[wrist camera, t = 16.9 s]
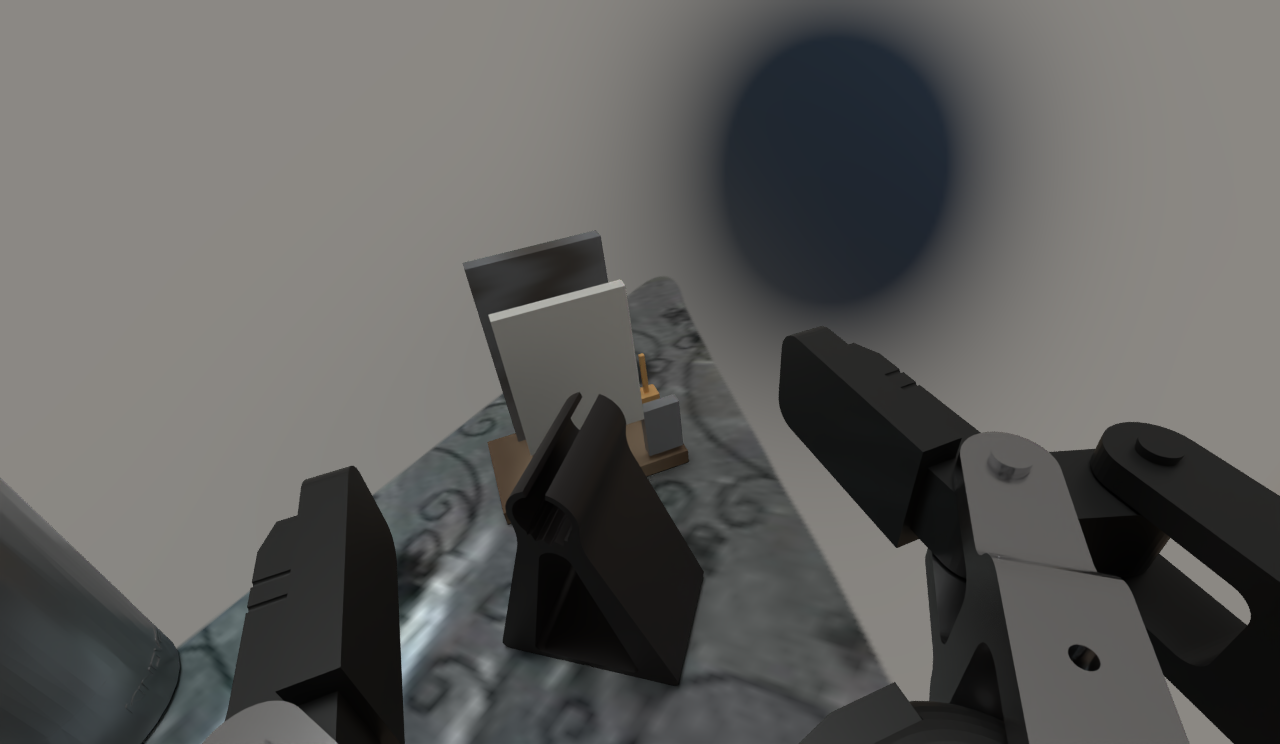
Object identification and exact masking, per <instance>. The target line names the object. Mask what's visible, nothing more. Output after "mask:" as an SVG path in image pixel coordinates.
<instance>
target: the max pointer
mask: <svg viewBox="0 0 1280 744" xmlns="http://www.w3.org/2000/svg"><path fill="white" fill-rule="evenodd" d="M639 363H640V370H641V377H642V384H643V387H642V388H640V392H641V399H642V404H644V403H647V402H650V401H653V400H656V399H659V398H660V396H659V393H658V391H657V390H656V388H655V387H654V385H653V384H651V385H648V380H647V372H646V365H645V357H644V354H643V353H642V354H639Z"/></svg>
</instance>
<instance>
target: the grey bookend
mask: <svg viewBox="0 0 1280 744" xmlns="http://www.w3.org/2000/svg"><path fill="white" fill-rule="evenodd" d="M463 266H464V269H465V272H466V276H467V279H468V282H469V285H470V288H471V292H472V295H473V298H474V301H475V304H476V308H477V311H478V314H479V317H480V321H481V324H482V327H483V330H484V333H485V336H486V340H487V343H488V346H489V349H490V352H491V355H492V359H493V362H494V365H495V368H496V372H497V375H498V378H499V381H500V384H501V388H502V391H503V394H504V397H505V400H506V404H507V407H508V410H509V413H510V416H511V419H512V423H513V426H514V429H515V432H516V433H515V434H512V435H509V436H505V437H502V438H499V439H496V440H493V441H489V442H488V446H489V450H490V455H491V459H492V464H493V468H494V472H495V477H496V481H497V486H498V490H499V495H500V499H501V503H502V508H503V512H504V515H505V518H506V521H507V524H511V522H510V520H509V519H508V517H507V514H506V510H505V505H506V501H507V500H508V498H509V496H510V495H511V493H512V491H513V489H514V488H515V486H516V484H517V483H518V481H519V479H520V478H521V476H522V474H523V473H524V471H525V469H526V468H527V466H528V464H529V462H530V461H531V459H532V457H533V456H534V455H532V456H531V454H530V451H529V448H528V444H527V441H526V438H525V435H524V431H523V428H522V425H521V421H520V418H519V415H518V411H517V408H516V405H515V401H514V398H513V395H512V392H511V388H510V385H509V382H508V378H507V375H506V372H505V368H504V365H503V362H502V359H501V355H500V352H499V349H498V345H497V342H496V339H495V335H494V332H493V329H492V325H491V322H490V319H489V316H488V315H489V314H493V313H497V312H500V311H504V310H508V309H512V308H515V307H519V306H523V305H527V304H530V303H534V302H538V301H542V300H545V299H549V298H553V297H556V296H560V295H564V294H568V293H571V292H575V291H579V290H583V289H586V288H590V287H594V286H598V285H601V284H605V283H608V279H607V273H606V266H605V260H604V254H603V248H602V242H601V236H600V235H599V233H598V232H597V231H596V230H595V231H591V232H587V233H583V234H579V235H575V236H571V237H567V238H563V239H559V240H555V241H550V242H547V243H543V244H538V245H534V246H530V247H526V248H522V249H518V250H514V251H510V252H506V253H502V254H498V255H494V256H490V257H485V258H482V259H477V260H474V261H470V262H465V263H463ZM626 437H627V442H628V445H629V448H630V450H631V452H632V454H633V455H634V457H635V459H636V460H637V462H638V464H639V465H640V467H641V469H642V470H643V472H644V474H645V475H646V476H649V475H652V474H655V473H658V472H661V471H663V470H666V469H669V468H672V467H675V466H678V465H681V464H684V463H686V462H689V459H688V450H687V449H686V447H685V446H684V444H683V445H681V446H679V447H676V448H673V449H670V450H667V451H664V452H661V453H658V454H655V455H652V456H649V454H648V452H647V451H646V449H645V443H644V436H643V429H642V423H641V420H640V421H637V422H633V423H630V424H627V425H626Z"/></svg>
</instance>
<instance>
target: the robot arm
mask: <svg viewBox="0 0 1280 744" xmlns="http://www.w3.org/2000/svg"><path fill="white" fill-rule="evenodd" d="M779 405H780V409H781V412H782V415H783V417H784V419H785V421H786V423H787V424H788V426H789V427H790V428H791V430H792V431H793V432H794V433H795V434H796V435H797V436H798V437H799V438H800V440H801V441H802V442H803V443H804V444H805V445H806V447H807V448H809V450H810V451H811V452H812V453H813V454H814V456H815V457H816V458H817V459H818V460H819V461H820V462H821V463H822V465H823V466H824V467H825V468H826V469H827V470H828V471H829V472H830V474H831V475H832V476H833V477H834V478H835V479H836V480H837V482H838V483H839V484H840V485H841V486H842V487H843V488H844V489H845V491H846V492H847V493H848V494H849V495H850V496H851V497H852V498H853V500H854V501H855V502H856V503H857V504H858V505H859V506H860V507H861V509H862V510H863V511H864V512H865V513H866V514H867V515H868V516H869V518H870V519H871V520H872V521H873V522H874V523H875V524H876V526H877V527H878V528H879V529H880V530H881V531H882V532H883V533H884V535H886V537H887V538H888V539H889V540H890V541H891V542H892V544H894V546H895V547H896V548H898V547H901V546H903V545H905V544H908V543H910V542H912V541H915V540H917V539H920V540H921V541H922V542H923V543H924V544H925V545H926V546H927V547H928V549H927V553H926V557H925V564H926V575H927V585H928V586H927V587H928V597H929V610H930V621H931V631H932V644H933V670H932V676H931V683H930V698H929V701H911V702H909V701H908V700H907V698H906V697H905V695H904V694H903V693H902V691H901V690H900V689H899V687H898V686H897V684H896V683H895V682H894V683H892V684H890V685H888V686H886V687H884V688H882V689H879V690H877V691H875V692H873V693H871V694H869V695H867V696H865V697H863V698H861V699H858V700H856V701H854V702H852V703H850V704H848V705H846V706H844V707H842V708H839V709H837V710H835V711H833V712H831V713H830V714H829V715H828V716H827V717H826V718H825V719H824V720H823V721H822V722H821V723H819V724H818V725H817V726H816V727H815V728H814V729H813V730H812V731H811V732H810V733H809V734H808V735H807V736H806V737H805V738H804V739H803V740H802V741H801V742H800V743H799V744H1189V741H1188V738H1187V736H1186V733H1185V730H1184V728H1183V725H1182V723H1181V720H1180V717H1179V715H1178V712H1177V709H1176V707H1175V704H1174V701H1173V699H1172V697H1171V694H1170V691H1169V688H1168V687H1167V683H1166V681H1165V678H1164V676H1165V677H1166V678H1167V679H1168V680H1169V681H1171V683H1172V684H1173V685H1174V686H1176V688H1177V689H1178V690H1179V691H1180V692H1181V693H1183V695H1184V696H1185V697H1186V698H1188V699H1189V700H1190V701H1191V702H1192V703H1193V704H1194V705H1195V706H1196V707H1197V708H1198V709H1199V710H1200V711H1201V712H1202V713H1203V714H1204V715H1205V716H1206V717H1207V718H1208V719H1209V720H1210V721H1211V722H1212V723H1213V724H1214V725H1215V726H1216V727H1218V729H1219V730H1220V731H1221V732H1222V733H1223V734H1224V735H1225V736H1226V737H1227V738H1229V739H1230V740H1231V741H1232V742H1233V743H1234V744H1280V496H1279V495H1277V494H1276V493H1274V492H1272V491H1271V490H1269V489H1268V488H1266V487H1264V486H1263V485H1261V484H1260V483H1258V482H1257V481H1255V480H1254V479H1252V478H1250V477H1249V476H1247V475H1246V474H1244V473H1243V472H1241V471H1239V470H1238V469H1236V468H1235V467H1233V466H1232V465H1230V464H1228V463H1227V462H1225V461H1224V460H1222V459H1221V458H1219V457H1217V456H1216V455H1214V454H1213V453H1211V452H1209V451H1208V450H1206V449H1205V448H1203V447H1202V446H1200V445H1198V444H1197V443H1195V442H1194V441H1192V440H1190V439H1188V438H1187V437H1185V436H1183V435H1181V434H1179V433H1177V432H1175V431H1172V430H1169V429H1167V428H1163V427H1160V426H1156V425H1152V424H1147V423H1140V422H1125V423H1119V424H1115V425H1113V426H1111V427H1109V428H1108V429H1107V430H1105V432H1104V433H1103V435H1102V437H1101V439H1100V441H1099V443H1098V445H1097V447H1096V449H1087V450H1073V451H1058V452H1048V451H1047V450H1045V449H1044V448H1043V447H1041V446H1040V445H1038V444H1036V443H1034V442H1032V441H1030V440H1028V439H1026V438H1023V437H1020V436H1017V435H1013V434H1009V433H1003V432H985V433H980V432H979V431H978V430H976V429H975V428H974V427H973V426H971V425H970V424H969V423H967V422H966V421H965V420H964V419H962V418H961V417H959V415H957V414H956V413H955V412H953V411H952V410H951V409H949V408H948V407H947V406H946V405H944V404H943V403H942V402H941V401H939V400H938V399H937V398H936V397H934V396H933V395H932V394H930V393H929V392H928V391H926V390H925V389H924V388H923V387H921V386H920V385H919V386H917V385H916V382H915V381H914V380H913V379H911V378H910V377H909V376H908V375H906V374H905V373H904V372H903V373H900V371H899V368H897V367H896V366H895V365H893V364H892V363H891V362H890V361H888V360H887V359H886V358H884V357H883V356H882V355H881V354H879V353H877V352H874V351H872V350H869V349H867V348H865V347H862V346H860V345H857V344H855V343H852V344H849V345H848V344H847V343H846V342H845V341H843V340H842V339H841V338H840V337H838V336H837V335H836V334H834V333H833V332H832V331H831V330H830V329H828V328H827V327H824V326H820V327H817V328H813V329H810V330H806V331H803V332H800V333H796V334H793V335H790V336H787V337H786V338H785V339H784V341H783V344H782V354H781V369H780V384H779ZM1170 538H1172V539H1173V540H1174V541H1175V542H1177V543H1178V544H1179V545H1181V546H1182V547H1183V548H1184V549H1186V550H1187V551H1188V552H1190V553H1191V554H1192V555H1193V556H1195V557H1196V558H1197V559H1198V560H1200V561H1201V562H1202V563H1203V564H1205V565H1206V566H1207V567H1209V568H1210V569H1211V570H1212V571H1214V572H1215V573H1216V574H1218V575H1219V576H1220V577H1222V578H1223V579H1224V580H1225V581H1227V582H1228V583H1229V584H1230V585H1232V586H1233V587H1234V588H1235V589H1236V590H1238V592H1239V593H1240V594H1241V595H1242V596H1243V598H1244V599H1245V600H1246V602H1247V604H1248V606H1249V609H1250V612H1251V620H1250V623H1249V624H1248V625H1246V624H1244V623H1243V622H1242V621H1241V620H1240V619H1238V618H1237V617H1236V616H1235V615H1234V614H1232V613H1231V612H1230V611H1229V610H1227V609H1226V608H1225V607H1224V606H1223V605H1221V604H1220V603H1219V602H1218V601H1216V600H1215V599H1214V598H1213V597H1212V596H1210V595H1209V594H1208V593H1207V592H1205V591H1204V590H1203V589H1202V588H1201V587H1199V586H1198V585H1197V584H1195V583H1194V582H1193V581H1192V580H1191V579H1190V578H1188V577H1187V576H1186V575H1185V574H1183V573H1182V572H1181V571H1180V570H1178V569H1177V568H1176V567H1175V566H1173V565H1172V564H1171V563H1170V562H1169V561H1168V560H1166V559H1165V558H1164V557H1163V556H1161V555H1160V554H1159V553H1160V551H1161V550H1162V549H1163V547H1164V546H1165V544H1166V543H1167V542H1168V540H1169V539H1170ZM252 583H253V587H252V588H251V589H250V595H249V600H248V605H247V608H248V611H249V612H248V613H246V616H245V621H244V627H243V632H242V637H241V643H240V648H239V653H238V659H237V664H236V669H235V675H234V680H233V685H232V691H231V696H230V701H229V707H228V711H227V715H226V719H225V722H224V723H223V724H222V725H220V726H219V727H218V728H217V729H216V730H215V731H213V732H212V734H211V735H210V736H209V737H208V738H207V739H206V740H205V741H204V742H203V743H202V744H405V739H404V716H403V694H402V671H401V648H400V626H399V603H398V580H397V559H396V551H395V546H394V542H393V538H392V535H391V532H390V529H389V527H388V525H387V523H386V521H385V519H384V517H383V515H382V513H381V511H380V509H379V508H378V506H377V504H376V502H375V500H374V498H373V496H372V495H371V493H370V491H369V489H368V487H367V485H366V483H365V482H364V480H363V478H362V476H361V474H360V472H359V471H358V470H357V468H355V467H354V466H349V467H346V468H343V469H339V470H336V471H333V472H330V473H326V474H323V475H319V476H316V477H313V478H309V479H306V480H304V481H303V483H302V486H301V493H300V502H299V509H298V515H297V516H294V517H291V518H288V519H284V520H281V521H278V522H276V524H275V525H274V527H273V528H272V530H271V532H270V533H269V535H268V536H267V538H266V539H265V541H264V543H263V544H262V546H261V547H260V549H259V551H258V552H257V558H256V563H255V568H254V574H253V579H252ZM179 669H180V662H179V654H178V651H177V649H176V648H175V646H174V644H173V642H172V641H171V640H170V639H169V638H168V637H166V636H165V635H164V634H163V633H162V632H161V631H160V630H159V629H158V628H157V627H156V626H155V625H154V624H153V623H152V622H151V621H150V620H149V619H148V618H146V617H145V616H144V615H143V614H142V613H141V612H140V611H139V610H138V609H137V608H136V607H135V606H134V605H133V604H132V603H131V602H130V601H129V600H128V599H127V598H126V597H125V596H124V595H123V594H122V593H121V592H120V591H119V590H118V589H117V588H116V587H115V586H113V585H112V584H111V583H110V582H109V581H108V580H107V579H106V578H105V577H104V576H103V575H102V574H101V573H100V572H99V571H98V570H97V569H96V568H94V567H93V566H92V565H91V564H90V563H89V562H88V561H87V560H86V559H85V558H84V557H83V556H82V555H81V554H80V553H79V552H78V551H76V549H74V547H72V546H71V545H70V544H69V543H68V542H67V541H66V540H65V539H64V538H63V537H62V536H61V535H60V534H59V533H58V532H57V531H56V530H55V529H54V528H53V527H51V526H50V525H49V524H48V523H47V522H46V521H45V520H44V519H43V518H42V517H41V516H40V515H39V514H38V513H37V512H36V511H35V510H33V509H32V507H30V506H29V505H28V504H27V503H26V502H25V501H24V500H23V499H22V498H21V497H20V496H19V495H18V494H17V493H16V492H15V491H14V490H12V489H11V488H10V487H9V486H8V485H7V484H6V483H5V482H4V481H3V480H2V479H1V478H0V744H141V743H142V742H143V740H144V739H145V738H146V736H147V735H148V734H149V733H150V731H151V730H152V729H153V727H154V726H155V725H156V723H157V722H158V720H159V719H160V717H161V715H162V714H163V712H164V710H165V708H166V707H167V705H168V703H169V702H170V699H171V697H172V694H173V692H174V689H175V687H176V684H177V680H178V675H179Z"/></svg>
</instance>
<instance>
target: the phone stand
mask: <svg viewBox="0 0 1280 744" xmlns="http://www.w3.org/2000/svg"><path fill="white" fill-rule="evenodd" d="M581 399H582V395H581V393H580V392H578V393H575V394H573V395H571V396H570V397H569V398H568V399H567V400H566V402H565V403H564V405H563V407H562V408H561V410H560V412H559V414H558V415H557V417H556V419H555V420H554V422H553V424H552V425H551V427H550V429H549V430H548V432H547V434H546V435H545V437H544V439H543V441H542V442H541V444H540V446H539V447H538V449H537V451H536V452H535V454H534V456H533V457H532V459H531V461H530V462H529V464H528V466H527V468H526V469H525V471H524V473H523V474H522V476H521V478H520V479H519V481H518V483H517V484H516V486H515V488H514V489H513V491H512V493H511V495H510V496H509V498H508V500H507V501H506V505H505V510H506V514H507V517H508V519H509V520H510V522H511V524H512V526H513V528H514V530H515V533H516V536H517V552H516V558H515V565H514V571H513V578H512V584H511V591H510V597H509V604H508V610H507V616H506V623H505V629H504V636H503V643H504V645H506V646H507V647H509V648H513V649H518V650H522V651H526V652H531V653H535V654H539V655H543V656H548V657H552V658H556V659H561V660H565V661H569V662H574V663H578V664H582V665H585V664H589V665H591V667H595V668H599V669H604V670H608V671H612V672H617V673H621V674H625V675H630V676H634V677H638V678H642V679H647V680H651V681H655V682H660V683H664V684H668V685H673V686H676V685H678V683H679V679H680V675H681V670H682V666H683V661H684V657H685V653H686V648H687V644H688V640H689V635H690V631H691V626H692V622H693V618H694V613H695V609H696V604H697V600H698V596H699V591H700V587H701V583H702V578H703V574H704V572H703V570H702V568H701V566H700V565H699V563H698V561H697V560H696V558H695V556H694V555H693V553H692V551H691V550H690V548H689V547H688V545H687V543H686V542H685V540H684V538H683V537H682V535H681V533H680V532H679V530H678V528H677V527H676V525H675V523H674V522H673V520H672V518H671V517H670V515H669V513H668V512H667V510H666V508H665V507H664V505H663V503H662V502H661V500H660V498H659V497H658V495H657V493H656V492H655V490H654V489H653V487H652V485H651V484H650V482H649V480H648V479H647V477H646V475H645V474H644V472H643V470H642V469H641V467H640V465H639V464H638V462H637V460H636V459H635V457H634V455H633V454H632V452H631V450H630V448H629V445H628V442H627V437H626V419H625V416H624V414H623V412H622V411H621V409H620V408H619V407H618V405H617V404H615V403H614V402H613V401H612V400H611V399H609V398H607V397H606V396H604V395H601V394H599V395H598V397H597V399H596V401H595V403H594V404H593V406H592V408H591V410H590V412H589V414H588V416H587V418H586V420H585V421H584V423H583V425H582V427H581V429H580V430H579V429H578V428H577V427H576V426H575V425H574V423H573V422H572V420H571V417H572V415H573V413H574V411H575V409H576V408H577V406H578V404H579V402H580V401H581Z"/></svg>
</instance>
